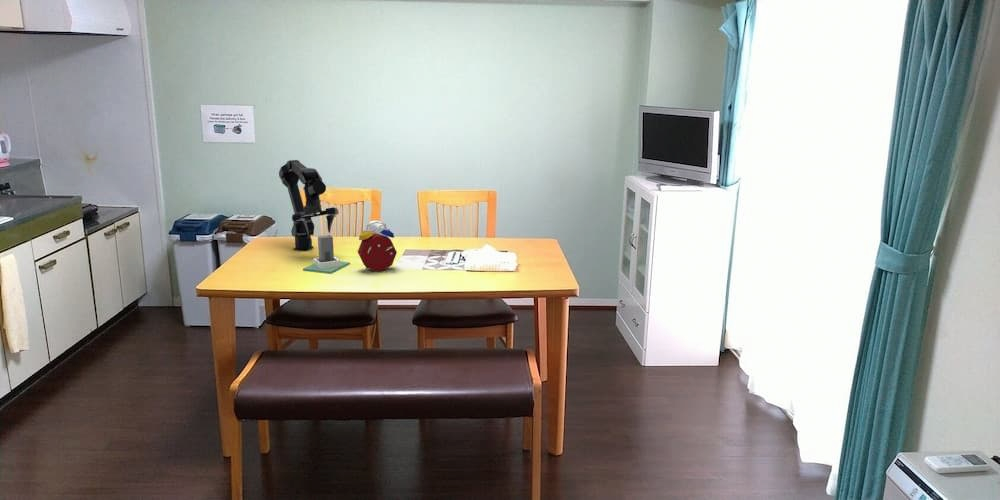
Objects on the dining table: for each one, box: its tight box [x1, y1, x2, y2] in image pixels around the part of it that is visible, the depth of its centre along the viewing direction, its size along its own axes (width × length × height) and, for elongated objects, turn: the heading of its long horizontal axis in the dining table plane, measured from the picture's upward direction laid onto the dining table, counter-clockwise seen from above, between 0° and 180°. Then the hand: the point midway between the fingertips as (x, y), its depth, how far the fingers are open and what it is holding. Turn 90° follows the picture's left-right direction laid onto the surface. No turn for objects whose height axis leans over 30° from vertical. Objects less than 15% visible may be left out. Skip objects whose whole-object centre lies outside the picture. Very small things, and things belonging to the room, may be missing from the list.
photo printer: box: [368, 220, 387, 236], centre depth 328 cm, size 10×4×12 cm, turn 39°
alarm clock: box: [357, 222, 398, 273], centre depth 291 cm, size 15×9×20 cm, turn 111°
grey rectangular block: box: [317, 234, 335, 263], centre depth 295 cm, size 5×5×12 cm
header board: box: [302, 256, 351, 274], centre depth 297 cm, size 13×15×3 cm
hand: (318, 234), depth 308 cm, fingers open, 9 cm apart
